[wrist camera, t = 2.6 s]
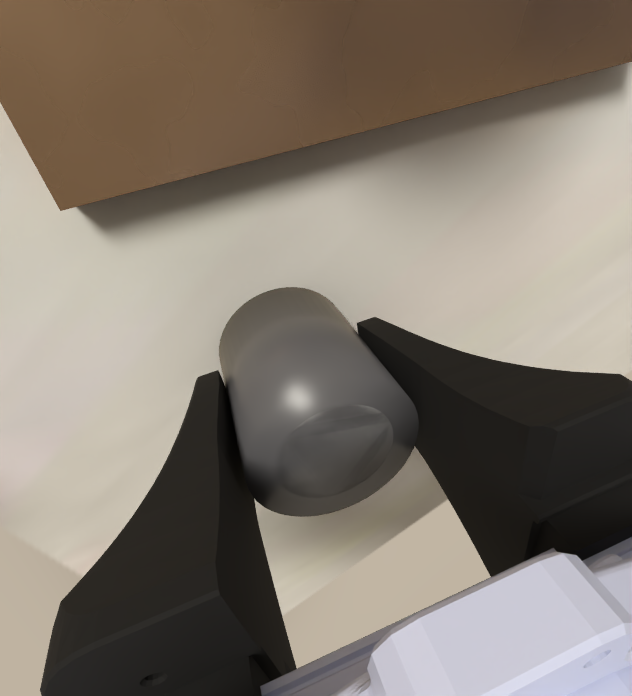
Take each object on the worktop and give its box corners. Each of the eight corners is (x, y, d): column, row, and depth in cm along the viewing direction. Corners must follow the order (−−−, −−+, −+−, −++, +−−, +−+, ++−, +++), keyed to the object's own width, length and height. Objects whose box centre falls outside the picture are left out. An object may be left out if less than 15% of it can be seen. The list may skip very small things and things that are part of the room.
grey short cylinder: (335, 269, 13) (415, 351, 9) (353, 375, 15) (421, 476, 11) (199, 312, 12) (216, 423, 8) (241, 415, 14) (271, 538, 10)
